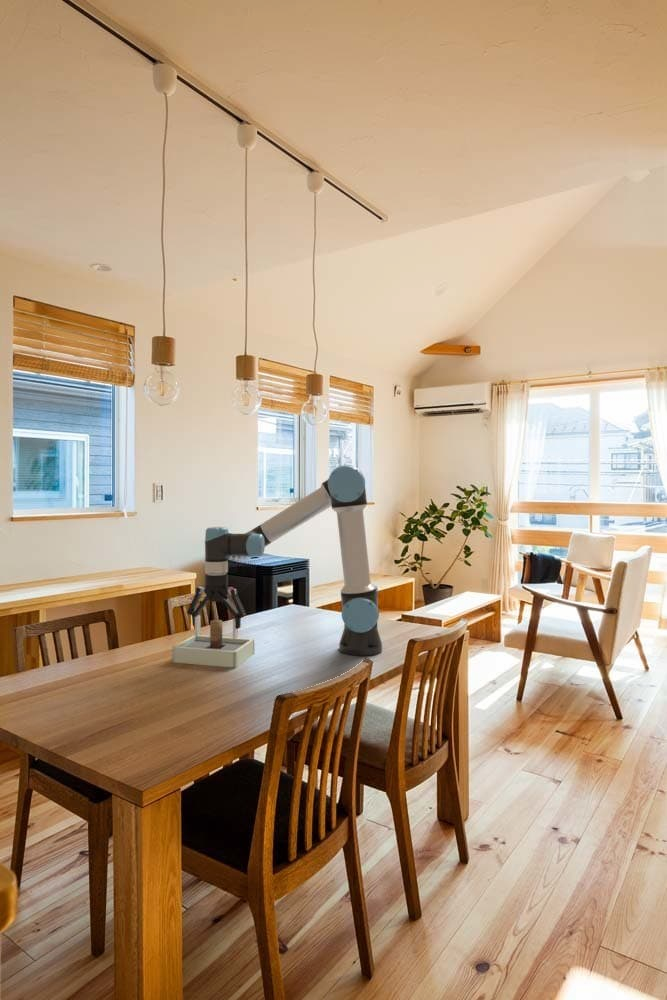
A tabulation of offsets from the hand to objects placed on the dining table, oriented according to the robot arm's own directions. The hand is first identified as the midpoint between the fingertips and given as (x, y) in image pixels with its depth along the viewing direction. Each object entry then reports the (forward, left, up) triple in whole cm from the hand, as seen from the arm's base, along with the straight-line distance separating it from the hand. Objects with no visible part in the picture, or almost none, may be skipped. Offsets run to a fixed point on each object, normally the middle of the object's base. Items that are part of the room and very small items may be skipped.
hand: (216, 636), depth 203 cm
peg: (0, 0, -7) cm, 7 cm away
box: (0, +2, -7) cm, 7 cm away
